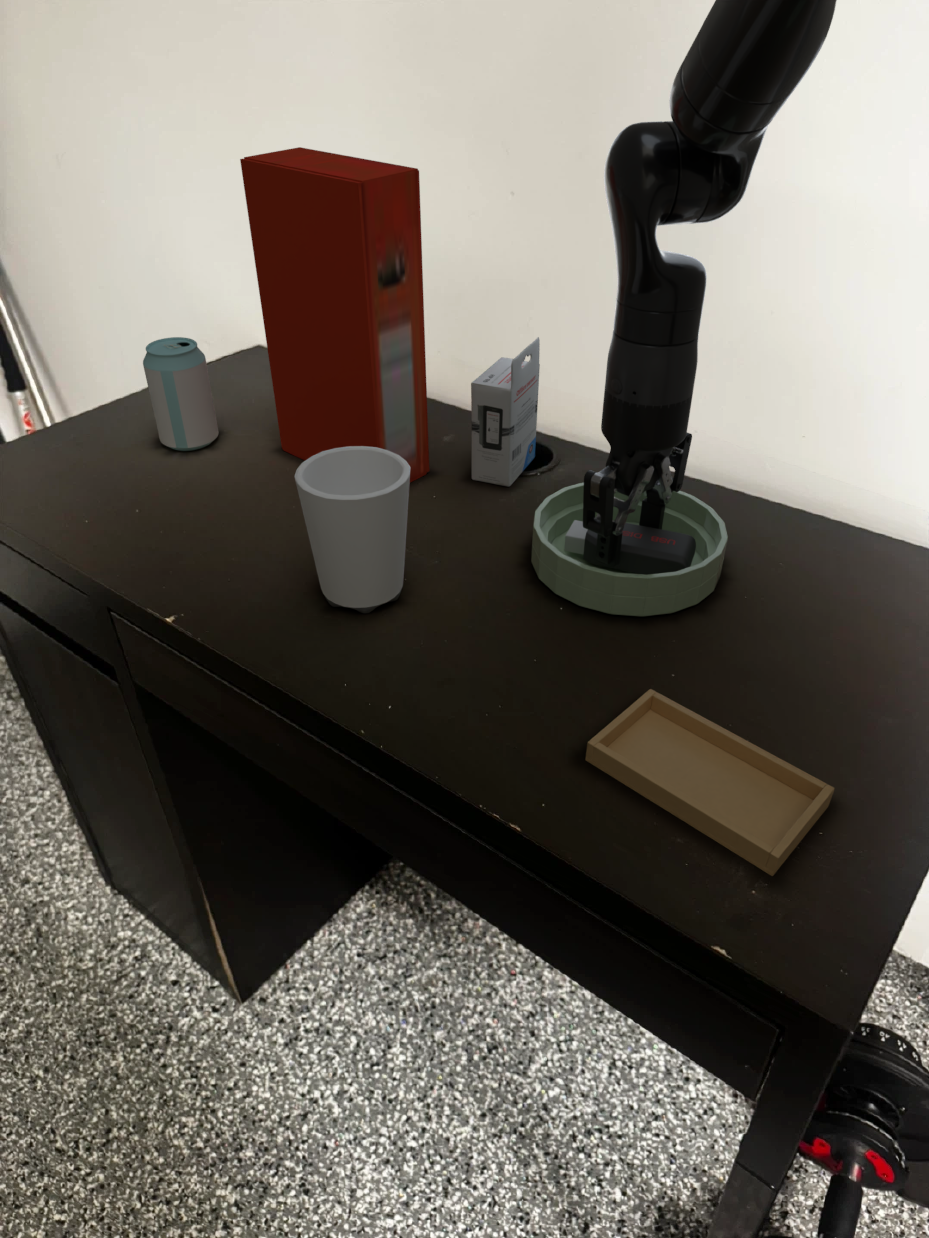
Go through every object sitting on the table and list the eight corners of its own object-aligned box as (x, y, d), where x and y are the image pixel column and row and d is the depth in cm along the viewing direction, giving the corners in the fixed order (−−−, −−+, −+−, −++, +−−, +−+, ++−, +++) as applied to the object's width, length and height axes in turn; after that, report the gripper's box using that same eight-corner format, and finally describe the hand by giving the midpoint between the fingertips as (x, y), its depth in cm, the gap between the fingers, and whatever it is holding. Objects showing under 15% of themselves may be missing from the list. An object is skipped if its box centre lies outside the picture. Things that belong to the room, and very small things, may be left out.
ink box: (497, 449, 107) (500, 329, 99) (536, 457, 106) (543, 335, 97) (468, 480, 101) (469, 354, 92) (509, 488, 100) (514, 361, 91)
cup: (290, 588, 84) (272, 467, 76) (375, 552, 89) (366, 435, 81) (349, 637, 78) (336, 511, 70) (436, 596, 83) (434, 473, 75)
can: (171, 428, 112) (150, 334, 105) (225, 429, 112) (209, 335, 105) (153, 453, 107) (130, 355, 100) (210, 454, 106) (192, 356, 99)
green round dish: (753, 561, 88) (762, 522, 85) (649, 644, 77) (656, 602, 74) (603, 499, 98) (607, 462, 95) (493, 565, 87) (495, 526, 84)
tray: (828, 806, 62) (835, 787, 61) (772, 876, 58) (778, 858, 57) (647, 706, 71) (650, 688, 70) (585, 760, 66) (587, 741, 65)
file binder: (378, 498, 98) (357, 181, 79) (280, 451, 107) (239, 157, 88) (429, 473, 103) (421, 168, 83) (330, 430, 112) (303, 146, 93)
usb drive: (684, 582, 83) (688, 558, 81) (561, 557, 86) (563, 533, 85) (694, 555, 87) (698, 530, 85) (576, 532, 90) (578, 508, 89)
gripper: (637, 422, 70) (617, 595, 80) (730, 372, 78) (701, 535, 88) (562, 397, 74) (552, 564, 84) (658, 352, 83) (638, 509, 92)
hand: (628, 548), depth 86 cm, fingers closed on usb drive, 6 cm apart
